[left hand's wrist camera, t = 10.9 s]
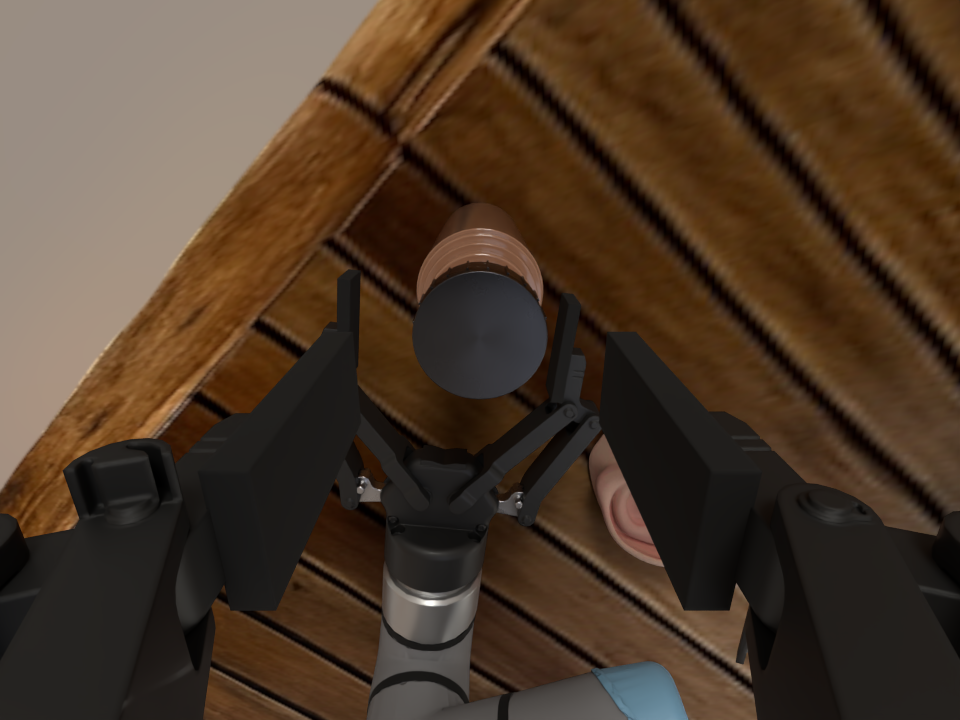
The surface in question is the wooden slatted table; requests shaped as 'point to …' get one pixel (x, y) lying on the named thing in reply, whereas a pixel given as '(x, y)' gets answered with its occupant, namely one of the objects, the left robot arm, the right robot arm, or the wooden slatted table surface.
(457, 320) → the cap
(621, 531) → the anatomical model
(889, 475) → the wooden slatted table surface
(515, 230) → the bottle
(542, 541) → the wooden slatted table surface
